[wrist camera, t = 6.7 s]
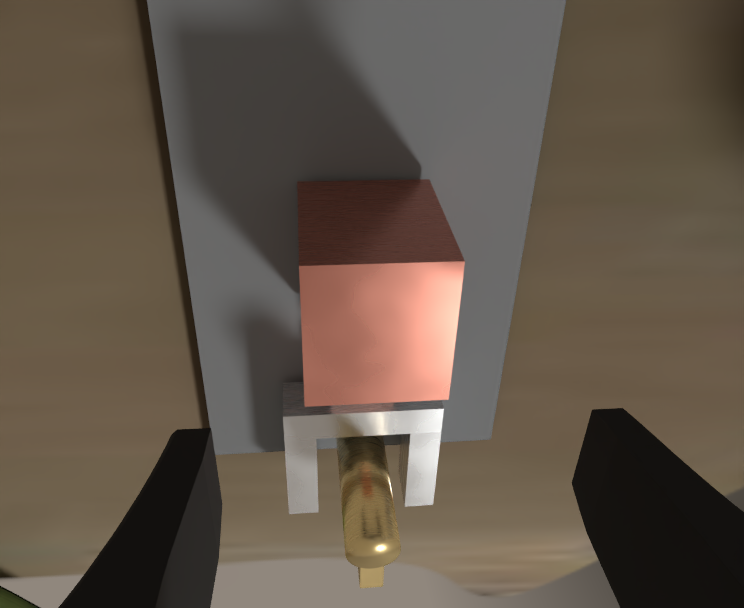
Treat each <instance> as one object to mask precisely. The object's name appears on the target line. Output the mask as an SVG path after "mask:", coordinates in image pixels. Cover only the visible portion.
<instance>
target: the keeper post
mask: <svg viewBox="0 0 744 608" xmlns="http://www.w3.org/2000/svg"><path fill="white" fill-rule="evenodd" d="M336 441H337V454H338V466H339V479H340V491H341V504H342V517H343V529H344V542H345V554H346V558H347V560H348V561H349V562H350V563H351V564H353V565H354V566H357V567H358V573H359V584H360V588H369V587H382V586H383V575H384V566H385V565H388V564H390V563H391V562H393V561H394V560H395V559H396V558H397V557H398V556H399V554H400V551H401V546H400V540H399V533H398V527H397V521H396V515H395V508H394V502H393V496H392V490H391V484H390V477H389V471H388V465H387V459H386V452H385V446H384V440H383V435H376V436H357V437H339V438H336Z"/></svg>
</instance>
